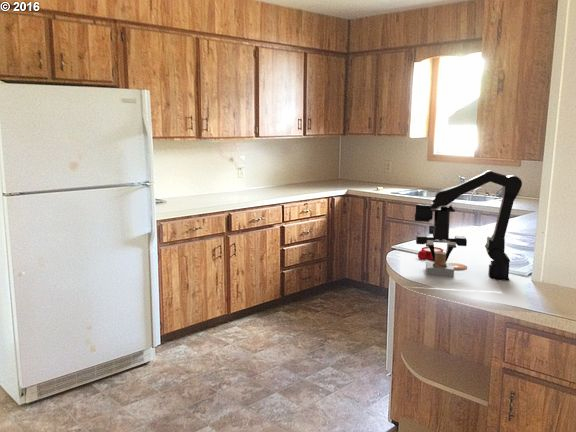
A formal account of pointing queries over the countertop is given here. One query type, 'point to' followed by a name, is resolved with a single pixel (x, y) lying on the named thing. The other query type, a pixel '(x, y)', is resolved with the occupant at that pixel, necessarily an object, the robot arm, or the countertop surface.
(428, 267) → the pocket holder
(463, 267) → the terracotta plate
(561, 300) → the countertop surface
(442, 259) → the walnut block
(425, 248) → the alarm clock
